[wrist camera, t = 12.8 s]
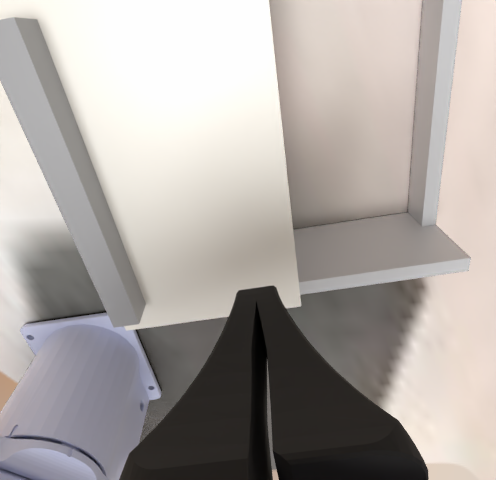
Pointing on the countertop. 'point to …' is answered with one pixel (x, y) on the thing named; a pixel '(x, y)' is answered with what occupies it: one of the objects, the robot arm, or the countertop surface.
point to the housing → (420, 190)
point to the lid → (158, 147)
